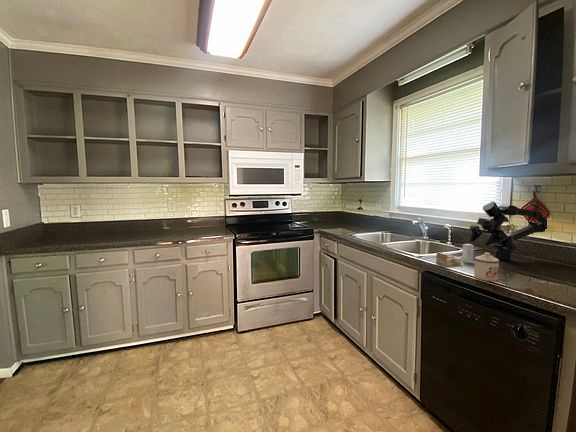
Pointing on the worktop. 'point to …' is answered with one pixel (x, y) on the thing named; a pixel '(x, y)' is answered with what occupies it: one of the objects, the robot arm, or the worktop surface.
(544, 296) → the worktop surface
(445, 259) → the sleeve
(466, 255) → the white rectangular block
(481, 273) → the teacup with lid
